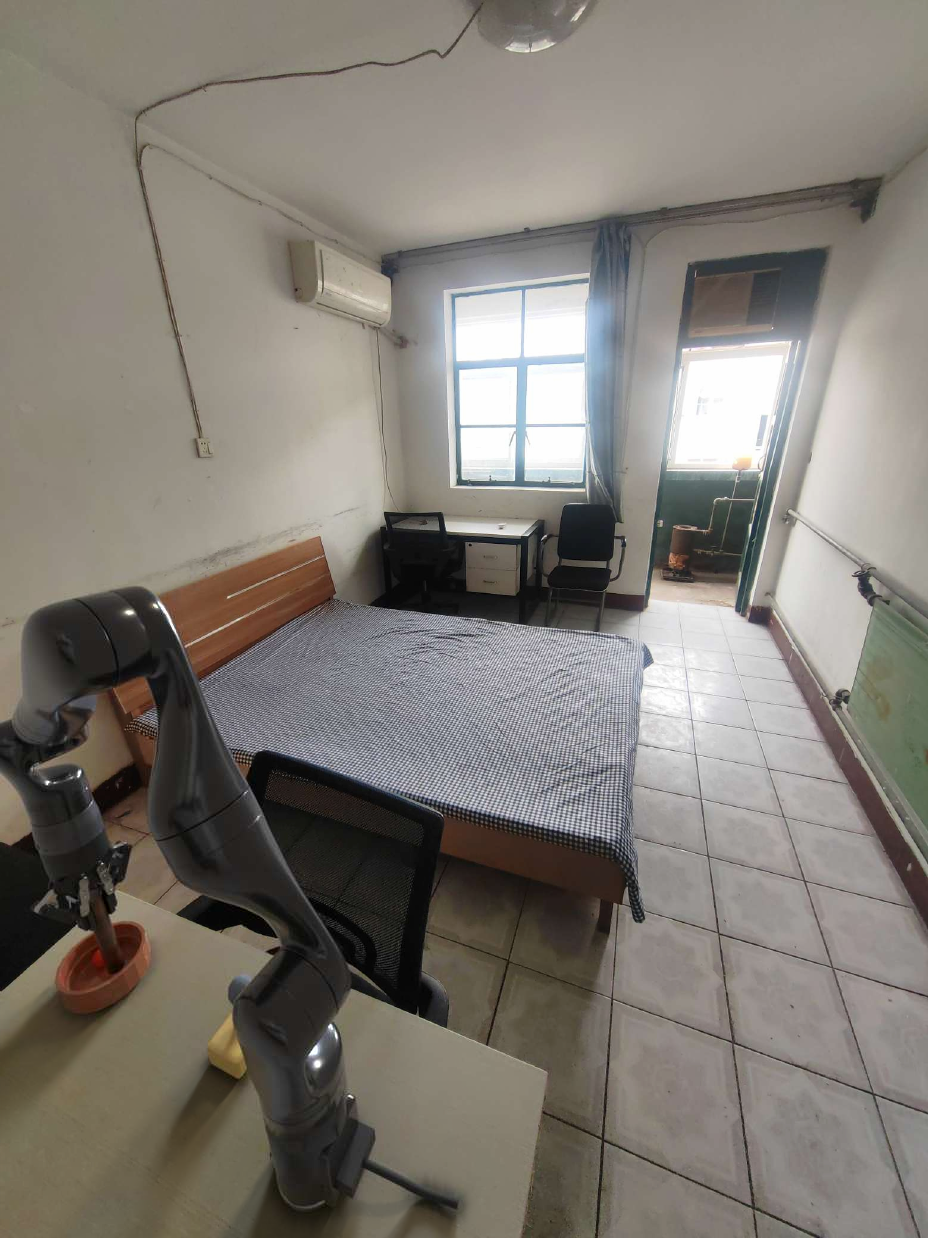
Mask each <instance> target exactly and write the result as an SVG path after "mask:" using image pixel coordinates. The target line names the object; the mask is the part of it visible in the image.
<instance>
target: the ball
mask: <svg viewBox="0 0 928 1238" xmlns="http://www.w3.org/2000/svg"><path fill="white" fill-rule="evenodd" d="M92 964H93V965H94V966H95V967H97V968H102V967H105V965H104V962H103V959H102V956H101V953H100V950H99V949H98V950H97V951H96V952H95V954H94V955H93V958H92Z"/></svg>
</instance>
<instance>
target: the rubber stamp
mask: <svg viewBox="0 0 928 1238" xmlns="http://www.w3.org/2000/svg"><path fill="white" fill-rule="evenodd" d="M252 979H253V978H252V977H251V976H250V975H249V974H248V973H247V974H246V973H241V974H238V975H236V976H235V977H234V978H233V979H232V980H231V981H230V983H229V985H228V987H227V998H228V1002H229V1003H230V1004H231V1005H232V1006H233V1005H234V1002H235V1000H236V998H237V997H238V995H239V994H240V993H241V992H242V991H243V990H244V988H245V987H246V986H247V985H248V984H249V983H250V982H251V981H252ZM206 1050H207V1054H208V1058H209V1061H210V1064H211V1065H212V1066H214V1067H217V1068H218V1069H220V1070H221V1071H223V1072H225V1073H226V1074H228V1075H230V1076H232V1077H233V1078H236V1079H238V1080H240V1078H242V1077H243V1075H244V1074H245V1073H246V1071H248V1070H247V1067H246V1063H245V1060H244V1057H243V1054H242V1051H241V1048H240V1045H239V1042H238V1040H237V1037H236V1034H235V1031H234V1027H233V1021H232V1012H231V1013H230V1014H229V1015H228V1016H227V1018H226V1020H224V1022H223V1024H222V1025H221V1026H220V1027H219V1029H218V1030H217V1032H216V1033H215V1034H214V1035H213V1036H212V1038H211V1040H210V1041H209V1042H208V1044H207V1045H206Z"/></svg>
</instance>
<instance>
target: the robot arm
mask: <svg viewBox="0 0 928 1238" xmlns="http://www.w3.org/2000/svg"><path fill="white" fill-rule="evenodd" d="M21 632H22V633H21V641H20V662H21V663H20V672H21V675H20V676H21V688H22V694H21V697H20V699H19V701H18V703H17V704H16V706H15V709H14V711H13V713H12V717H11V718H9V719H6V720H3V721H1V722H0V774H1V775H2V776H3V777H4V778H5V779H6V780H7V781H8V782H9V783H10V785H11V786H12V787H13V789H14V790H15V791H16V792H17V794H18V796H19V797H20V799H21V802H22V804H23V806H24V809H25V813H26V814H27V817H28V819H29V820H28V821H29V822H30V826H31V827H30V828H31V834H32V837H33V841H34V846H35V849H36V850H37V851H38V853H39V857H40V859H41V862H42V864H43V867H44V870H45V872H46V875H47V876H48V878H49V881H48V885H47V890H48V892H47V893H46V894H45V895H44V896H43V898H42V899H41V900H37V901H35V902H33V903H32V904H31V906H30V908H29V909H30V911H32V912H33V913H36V914H38V915H41V916H43V917H45V918H48V919H52V920H55V921H57V922H61V923H63V924H66V925H71V924H72V923H74V922H76V925H77V927H78V929H80V930H83V931H85V932H88V931H89V932H93V930H94V929H95V928H96V927H97V925H96V922H95V919H94V916H93V913H92V911H91V910H90V907H89V901H88V900H90V894H89V892H90V891H91V889H92V888H93V887H95V890H101V892H102V895H103V898H104V901H105V904H106V907H107V910H108V913H109V916H110V915H113V914H114V913H115V912H116V911H117V909H116V907H117V906H118V900H117V896H116V893H115V891H116V886H117V885H118V884H120V883H122V882H124V881H125V878H126V875H127V870H128V866H129V862H130V857H131V853H132V848H133V845H132V844H131V843H129V842H126V841H123V840H121V839H120V840H117V841H116V842H115V843H114V844H113V845H112V844H110V840H109V837H108V834H107V829H106V827H105V823H104V821H103V818H102V813H101V811H100V809H99V806H98V804H97V803H96V802H97V801H95V799H94V798H95V797H94V796H93V794H92V793H93V792H92V790H91V789H92V788H91V787H90V783H89V780H88V777H87V773H86V771H85V769H84V768H83V767H82V766H81V765H79V764H77V763H69V762H67V763H60V764H55V765H50V766H47V767H43V768H37V767H38V766H40V765H43V764H45V763H47V762H49V761H51V760H53V759H57V758H58V757H60V756H63V755H65V754H67V753H69V752H70V753H71V752H72V751H74V750H76V749H77V748H79V747H81V746H82V745H84V744H85V743H86V742H87V741H88V739H89V736H90V728H89V724H88V722H89V721H90V720H91V718H92V717H93V715H94V713H95V711H96V708H97V705H98V695H99V694H103V693H106V692H108V691H111V690H112V689H116V688H118V687H121V686H124V685H126V684H129V683H131V682H134V681H137V680H139V679H143V678H144V680H145V682H146V685H147V686H148V689H149V691H150V694H151V698H152V701H153V705H154V706H153V707H154V710H155V715H156V728H157V729H156V731H157V733H156V744H155V750H154V756H153V761H152V767H151V772H150V777H149V783H148V790H147V797H146V807H145V808H146V822H147V825H148V829H149V831H150V833H151V835H152V837H153V840H154V841H155V842H156V845H157V846H158V848H159V850H160V852H161V854H162V855H163V858H164V860H165V861H166V864H167V866H168V867H169V869H170V870H171V873H172V874H173V876H174V878H175V879H176V880H177V881H178V883H180V884H181V885H182V886H184V887H185V888H187V889H189V890H191V891H192V892H194V893H197V894H199V895H202V896H204V897H208V898H211V899H213V900H217V901H220V902H223V903H225V904H230V905H233V906H237V907H240V908H242V909H245V910H247V911H249V912H251V913H253V914H255V915H257V916H259V917H261V918H262V919H264V921H265V922H266V923H267V924H268V925H269V926H270V928H271V929H272V930H273V931H274V933H275V935H276V937H277V939H278V941H279V945H280V948H279V949H278V950H277V951H276V952H275V953H274V954H273V956H272V957H271V958H270V959H269V960H268V961H267V962H266V964H265V965H264V966H263V967H262V968H261V969H260V970H259V971H258V972H257V974H256V975H255V976H254V977H253V978H252V981H251V982H250V983H249V984H248V985H247V986H246V987H245V988H244V990H243V991H242V992H241V993H240V994H239V995H238V997H237V998H236V1000H235V1002H234V1005H232V1010H231V1013H232V1021H233V1027H234V1031H235V1034H236V1037H237V1040H238V1042H239V1045H240V1048H241V1051H242V1054H243V1057H244V1060H245V1063H246V1067H247V1070H246V1071H247V1073H248V1076H249V1079H250V1081H251V1083H252V1085H253V1087H254V1090H255V1092H256V1094H257V1096H258V1100H259V1105H260V1110H261V1113H262V1114H261V1115H262V1118H263V1122H264V1128H265V1132H266V1136H267V1141H268V1144H269V1145H268V1146H269V1150H270V1151H269V1159H272V1162H273V1167H274V1170H275V1178H276V1183H277V1188H278V1191H279V1194H280V1196H281V1199H283V1201H284V1202H285V1204H286V1205H287V1206H288V1207H289V1208H291V1209H293V1210H294V1211H298V1212H302V1213H306V1212H307V1213H308V1212H313V1211H316V1210H318V1209H320V1208H322V1207H324V1206H328V1207H330V1208H331V1209H332V1208H335V1206H336V1205H337V1203H338V1200H339V1197H340V1195H341V1194H344V1195H346V1196H347V1197H349V1198H351V1199H354V1197H355V1194H356V1192H357V1189H358V1186H359V1185H360V1181H361V1178H362V1176H363V1173H364V1171H365V1170H367V1171H369V1172H371V1173H373V1174H374V1175H376V1176H379V1177H380V1178H382V1179H385V1180H387V1181H389V1182H391V1183H392V1184H395V1185H397V1186H398V1187H400V1188H402V1189H404V1190H406V1191H408V1192H409V1193H412V1194H413V1195H416V1196H418V1197H421V1198H424V1199H425V1200H428V1201H431V1202H434V1203H436V1204H439V1205H442V1206H445V1207H448V1208H451V1209H454V1210H458V1208H459V1201H460V1200H459V1198H457V1197H454V1196H451V1195H448V1194H446V1193H442V1192H440V1191H436V1190H433V1189H431V1188H428V1187H426V1186H423V1185H421V1184H419V1183H417V1182H414V1181H413V1180H411V1179H409V1178H407V1177H405V1176H403V1175H402V1174H399V1173H398V1172H395V1171H394V1170H392V1169H390V1168H387V1167H385V1166H384V1165H382V1164H379V1163H377V1162H375V1161H373V1160H372V1159H369V1158H370V1156H371V1153H372V1150H373V1148H374V1145H375V1142H376V1130H375V1128H374V1127H371V1126H370V1125H367V1123H364V1122H362V1121H360V1120H359V1113H358V1104H357V1097H356V1096H355V1095H354V1094H351V1093H350V1092H349V1087H348V1078H347V1072H346V1063H345V1055H344V1046H343V1045H344V1044H343V1039H342V1036H341V1032H340V1030H339V1028H338V1026H337V1025H336V1024H335V1022H334V1020H335V1019H336V1017H337V1015H338V1014H339V1012H340V1011H341V1010H342V1008H343V1006H344V1004H345V1003H346V1001H347V999H348V997H349V995H350V993H351V990H352V975H351V971H350V968H349V965H348V963H347V960H346V959H345V956H344V954H343V953H342V951H341V949H340V947H339V946H338V944H337V943H336V941H335V939H334V937H333V935H332V934H331V932H330V931H329V929H328V928H327V925H326V924H325V923H324V921H323V919H321V917H320V915H319V914H318V912H317V911H316V908H315V907H314V906H313V904H312V902H310V899H309V898H308V897H307V895H306V894H305V892H304V890H303V889H302V887H301V886H300V884H299V882H298V880H297V878H296V877H295V875H294V873H293V871H292V870H291V867H290V865H289V864H288V862H287V860H286V858H285V856H284V854H283V852H282V850H281V848H280V846H279V844H278V842H277V840H276V838H275V836H274V835H273V832H272V830H271V828H270V826H269V824H268V821H267V820H266V819H267V818H266V817H265V815H264V812H263V810H262V808H261V806H260V804H259V802H258V800H257V798H256V796H255V794H254V792H253V791H252V788H251V786H250V785H249V782H248V780H247V778H246V777H245V775H244V773H243V772H242V769H241V768H240V767H239V765H238V763H237V761H236V759H235V757H234V756H233V754H232V752H231V750H230V748H229V746H228V744H227V742H226V740H225V738H224V736H223V733H222V732H221V730H220V728H219V726H218V723H217V722H216V720H215V718H214V715H213V714H212V711H211V709H210V707H209V704H208V702H207V699H206V696H205V695H204V692H203V689H202V687H201V684H200V682H199V680H198V677H197V674H196V671H195V669H194V667H193V664H192V661H191V659H190V657H189V654H188V652H187V649H186V646H185V644H184V641H183V639H182V637H181V634H180V632H179V629H178V627H177V625H176V623H175V621H174V619H173V616H172V615H171V613H170V612H169V611H168V608H167V607H166V606H165V604H164V603H163V601H162V600H161V599H160V598H159V597H158V596H157V594H155V592H153V591H152V590H150V589H149V588H147V587H144V586H141V585H129V586H123V587H118V588H114V589H109V590H105V591H100V592H97V593H91V594H86V595H82V596H77V597H73V598H69V599H64V600H61V601H56V602H53V603H50V604H47V605H44V606H41V607H39V608H37V609H36V610H35V611H33V612H32V613H31V614H29V616H28V617H27V619H26V621H25V623H24V625H23V629H22V631H21ZM35 767H36V768H37V769H35ZM58 896H65V899H66V900H67V901H68V905H69V908H67V909H63V908H61V907H60V905H59V900H58V899H57V897H58Z"/></svg>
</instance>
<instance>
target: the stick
mask: <svg viewBox="0 0 928 1238" xmlns="http://www.w3.org/2000/svg"><path fill="white" fill-rule="evenodd" d="M89 894H90V900H88V901H89V907H90V910H91V911H92V913H93V916H94V919H95V922H96V925H97V927H96V928H95V929H94V930H93V931H92V932H93V933H94V936H95V939H96V942H97V945H98V948H99V950H100V953H101V956H102V959H103V962H104V965H105V967H106V970H107V973H108V974H110V975H113V974H116V973H118V972H119V971H121V970H122V968H123V967H124V965H125V961H124V958H123V955H122V952H121V949H120V946H119V943H118V940H117V937H116V934H115V931H114V928H113V925H112V923H113V922H112V919H111V916H110V914H109V913H108V910H107V907H106V904H105V901H104V898H103V895H102V892H101V890H97V889H93V890H89Z"/></svg>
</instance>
